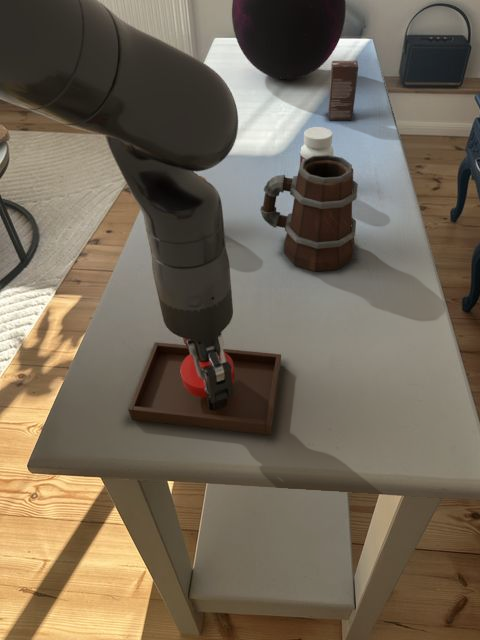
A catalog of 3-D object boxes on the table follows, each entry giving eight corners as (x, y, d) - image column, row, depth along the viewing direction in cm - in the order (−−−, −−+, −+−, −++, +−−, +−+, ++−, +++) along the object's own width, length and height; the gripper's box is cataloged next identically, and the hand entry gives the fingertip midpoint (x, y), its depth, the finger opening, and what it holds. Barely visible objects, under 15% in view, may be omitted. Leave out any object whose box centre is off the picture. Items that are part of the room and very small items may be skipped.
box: (351, 113, 121) (357, 59, 112) (352, 121, 118) (359, 66, 109) (327, 113, 121) (331, 59, 112) (327, 120, 118) (332, 66, 109)
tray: (131, 419, 59) (127, 409, 58) (157, 352, 67) (154, 341, 65) (270, 435, 57) (270, 425, 56) (280, 364, 65) (281, 354, 63)
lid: (239, 360, 62) (238, 350, 60) (229, 400, 57) (228, 391, 56) (189, 355, 62) (187, 345, 61) (176, 394, 58) (174, 385, 57)
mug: (354, 233, 85) (366, 150, 74) (350, 276, 77) (364, 190, 66) (266, 225, 87) (266, 143, 76) (254, 266, 79) (252, 181, 68)
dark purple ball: (335, 59, 149) (347, -69, 126) (342, 96, 128) (358, -48, 106) (238, 58, 150) (233, -68, 127) (230, 95, 129) (222, -48, 107)
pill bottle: (306, 179, 99) (309, 123, 90) (334, 186, 97) (340, 129, 88) (293, 193, 95) (295, 135, 87) (322, 200, 93) (327, 142, 85)
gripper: (254, 318, 45) (257, 419, 57) (207, 236, 54) (219, 339, 66) (176, 340, 43) (196, 440, 56) (141, 252, 52) (166, 355, 65)
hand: (208, 385), depth 61 cm, fingers closed on lid, 6 cm apart
